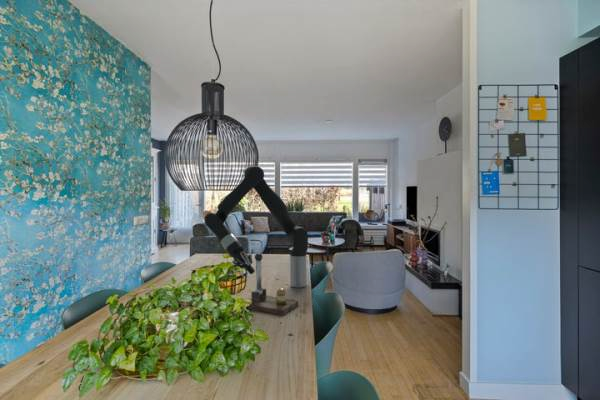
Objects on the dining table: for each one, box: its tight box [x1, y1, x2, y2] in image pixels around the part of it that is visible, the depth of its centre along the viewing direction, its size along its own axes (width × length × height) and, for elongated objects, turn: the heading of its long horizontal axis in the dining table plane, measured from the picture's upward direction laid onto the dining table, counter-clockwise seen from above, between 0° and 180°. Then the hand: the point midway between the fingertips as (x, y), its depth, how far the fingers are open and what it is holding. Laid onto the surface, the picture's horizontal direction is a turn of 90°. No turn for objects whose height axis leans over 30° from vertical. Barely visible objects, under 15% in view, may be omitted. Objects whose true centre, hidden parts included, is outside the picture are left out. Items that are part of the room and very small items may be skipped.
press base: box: [246, 287, 299, 316], centre depth 142 cm, size 14×22×6 cm, turn 63°
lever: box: [254, 252, 264, 295], centre depth 145 cm, size 4×4×20 cm
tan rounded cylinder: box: [275, 287, 287, 305], centre depth 140 cm, size 4×4×7 cm
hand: (252, 272), depth 147 cm, fingers closed
